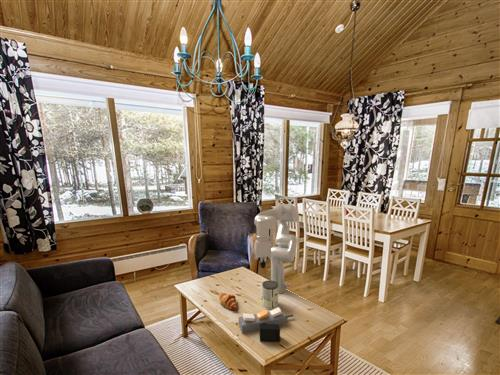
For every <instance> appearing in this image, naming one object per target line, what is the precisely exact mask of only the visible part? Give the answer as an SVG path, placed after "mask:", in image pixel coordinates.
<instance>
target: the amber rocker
mask: <svg viewBox="0 0 500 375" xmlns="http://www.w3.org/2000/svg"><path fill="white" fill-rule="evenodd" d="M268 312H269V311H267V309H266V308H265V309H263V310H261V311H260V312H257V313H255V314H256V315H257V317H258V319H259V320H261V319H263V318H265V317H267V316H269V315H268Z"/></svg>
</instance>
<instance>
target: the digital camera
mask: <svg viewBox="0 0 500 375" xmlns="http://www.w3.org/2000/svg"><path fill="white" fill-rule="evenodd" d="M259 342H261V343H262V342H263V343H264V342H265V343H281V327H280V325H279V324H267V323H262V324H260V330H259Z"/></svg>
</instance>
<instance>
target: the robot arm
mask: <svg viewBox="0 0 500 375" xmlns="http://www.w3.org/2000/svg"><path fill="white" fill-rule="evenodd" d="M299 219H300V215H299V212H298V210H297V208H296V207H295V205H293V204H290V203H279V204H277V205H275V206H274V207H273V208H272V209H268V210H263V211H261V212H259V213H258V214H257V215H256V216H255V217H254V221H253V223H254V226H256V240H255V241H254V247H253V256H254V257H253V258H254V260H258V261H259V266H260V267H261V269H265V268H266V266H267V265H266V262H267V261H268V259H270V280H272V281H275V282H277V283H278V294H283V293H286V291H287V287H291V283H290V282H289V283H288V282H285V265H284V262H285V263H293V262H294V259H295V254H296V251H297V245H298V239H297V236H296V235H295V234H290V227H289V225H288V224H287V223H297V222H298V221H299ZM276 226H278V228H277V231H276V232H277V233H276V237H275V240H274V241H275V245H276V246H272V244H271V241H270V239H271V238H272V237H271V235H270V230H271V229H275V227H276Z"/></svg>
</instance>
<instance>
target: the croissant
mask: <svg viewBox="0 0 500 375" xmlns="http://www.w3.org/2000/svg"><path fill="white" fill-rule="evenodd" d="M219 302H220V305H222V306H223V307H224V308H227V309H230V310H237V309H238V307H237V305H238V303H237V298H236V295H235V294H231V293H226V292H221V293H220V294H219Z"/></svg>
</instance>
